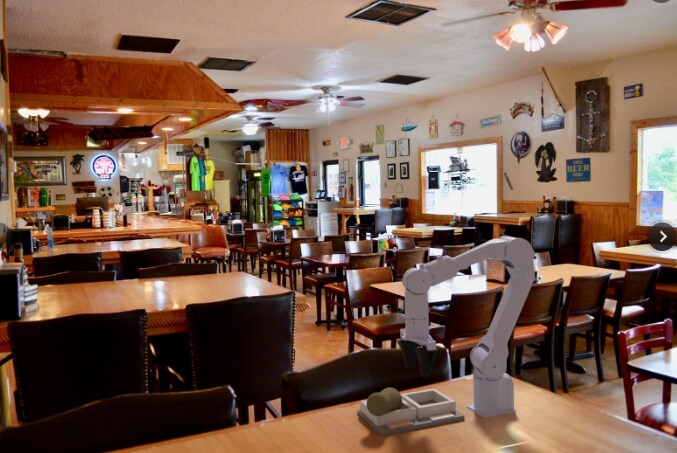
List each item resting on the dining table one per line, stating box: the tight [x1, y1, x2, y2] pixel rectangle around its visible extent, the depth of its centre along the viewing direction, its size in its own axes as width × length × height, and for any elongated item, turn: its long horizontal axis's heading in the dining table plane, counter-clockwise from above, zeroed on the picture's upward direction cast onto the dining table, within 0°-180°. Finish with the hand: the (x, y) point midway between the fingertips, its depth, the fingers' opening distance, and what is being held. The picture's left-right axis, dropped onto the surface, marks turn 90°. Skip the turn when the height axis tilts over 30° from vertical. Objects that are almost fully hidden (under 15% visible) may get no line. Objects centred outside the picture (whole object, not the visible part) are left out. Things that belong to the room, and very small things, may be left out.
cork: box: [366, 387, 402, 416], centre depth 130 cm, size 6×6×11 cm
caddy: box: [356, 388, 465, 437], centre depth 135 cm, size 22×14×4 cm, turn 111°
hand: (417, 371), depth 136 cm, fingers open, 7 cm apart
